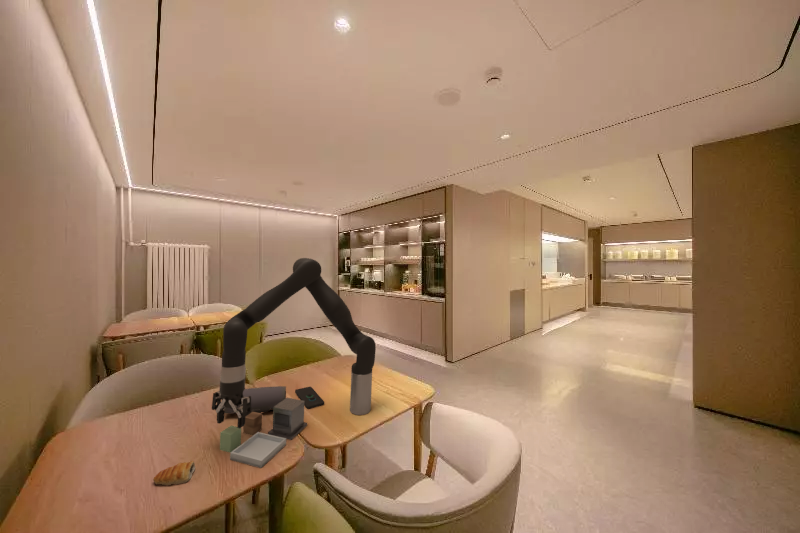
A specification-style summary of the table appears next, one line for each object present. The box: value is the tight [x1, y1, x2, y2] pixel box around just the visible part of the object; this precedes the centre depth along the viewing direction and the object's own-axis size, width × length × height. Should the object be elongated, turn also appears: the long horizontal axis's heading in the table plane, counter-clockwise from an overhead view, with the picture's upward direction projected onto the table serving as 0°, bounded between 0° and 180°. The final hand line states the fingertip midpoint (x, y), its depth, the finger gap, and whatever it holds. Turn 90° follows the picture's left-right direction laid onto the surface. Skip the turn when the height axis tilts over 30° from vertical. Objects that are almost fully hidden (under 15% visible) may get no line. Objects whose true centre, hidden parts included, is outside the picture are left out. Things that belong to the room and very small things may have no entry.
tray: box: [229, 431, 287, 469], centre depth 96 cm, size 12×12×2 cm
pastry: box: [152, 460, 196, 486], centre depth 83 cm, size 9×7×4 cm
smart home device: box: [294, 386, 325, 410], centre depth 135 cm, size 8×2×20 cm
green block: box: [219, 425, 242, 453], centre depth 98 cm, size 4×4×6 cm
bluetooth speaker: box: [224, 385, 287, 414], centre depth 121 cm, size 23×9×10 cm, turn 108°
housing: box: [267, 397, 308, 441], centre depth 109 cm, size 10×10×10 cm
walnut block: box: [242, 412, 263, 437], centre depth 107 cm, size 4×4×6 cm
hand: (230, 424), depth 97 cm, fingers open, 8 cm apart
